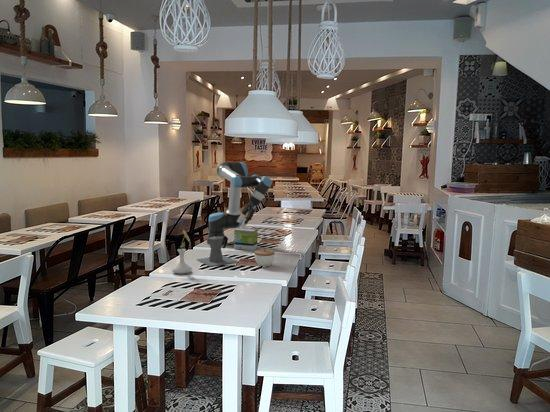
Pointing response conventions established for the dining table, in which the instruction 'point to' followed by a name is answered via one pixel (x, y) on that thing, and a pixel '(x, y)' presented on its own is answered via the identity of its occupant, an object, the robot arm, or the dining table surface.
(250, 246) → the tea box
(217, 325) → the dining table surface
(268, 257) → the lidded bowl
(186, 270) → the flower in vase
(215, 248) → the coffeepot
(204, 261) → the mat
